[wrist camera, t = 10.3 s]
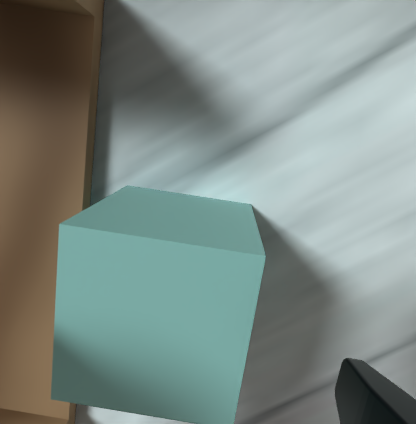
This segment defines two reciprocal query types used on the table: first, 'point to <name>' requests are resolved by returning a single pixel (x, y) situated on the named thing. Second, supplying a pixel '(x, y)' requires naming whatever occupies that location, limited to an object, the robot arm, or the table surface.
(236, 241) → the block
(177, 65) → the table surface
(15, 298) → the crate
